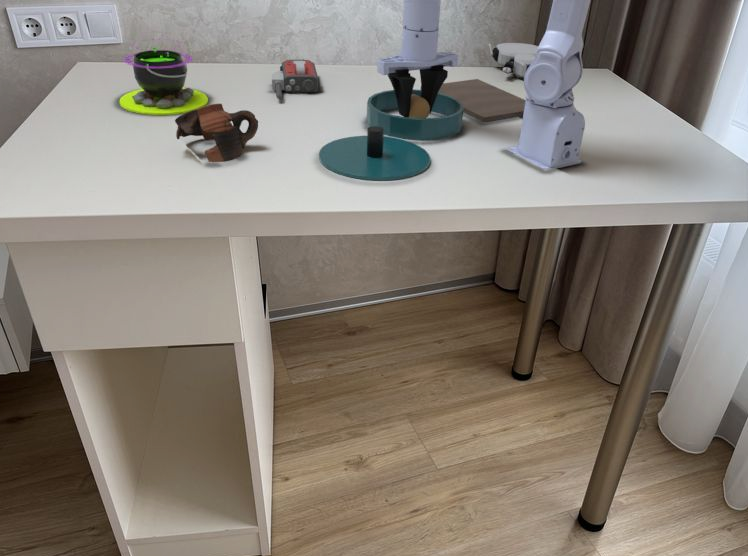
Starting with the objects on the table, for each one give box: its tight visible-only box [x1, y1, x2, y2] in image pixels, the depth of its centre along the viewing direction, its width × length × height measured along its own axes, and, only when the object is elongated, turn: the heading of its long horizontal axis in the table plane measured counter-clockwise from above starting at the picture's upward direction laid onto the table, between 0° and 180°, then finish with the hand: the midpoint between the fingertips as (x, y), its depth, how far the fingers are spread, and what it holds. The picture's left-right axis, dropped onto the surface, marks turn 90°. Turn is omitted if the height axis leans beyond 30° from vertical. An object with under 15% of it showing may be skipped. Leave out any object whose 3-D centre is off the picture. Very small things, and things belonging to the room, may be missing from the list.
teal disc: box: [318, 126, 431, 181], centre depth 104 cm, size 17×17×5 cm
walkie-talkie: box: [271, 58, 320, 100], centre depth 132 cm, size 9×4×20 cm
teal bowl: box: [366, 88, 464, 141], centre depth 118 cm, size 16×16×4 cm
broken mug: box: [174, 103, 259, 163], centre depth 104 cm, size 12×10×8 cm
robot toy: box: [488, 42, 539, 79], centre depth 150 cm, size 12×4×15 cm
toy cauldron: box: [119, 31, 209, 116], centre depth 120 cm, size 15×15×11 cm
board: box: [438, 78, 526, 123], centre depth 132 cm, size 20×14×1 cm
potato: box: [406, 94, 430, 119], centre depth 118 cm, size 6×4×4 cm
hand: (415, 113), depth 118 cm, fingers closed on potato, 4 cm apart
